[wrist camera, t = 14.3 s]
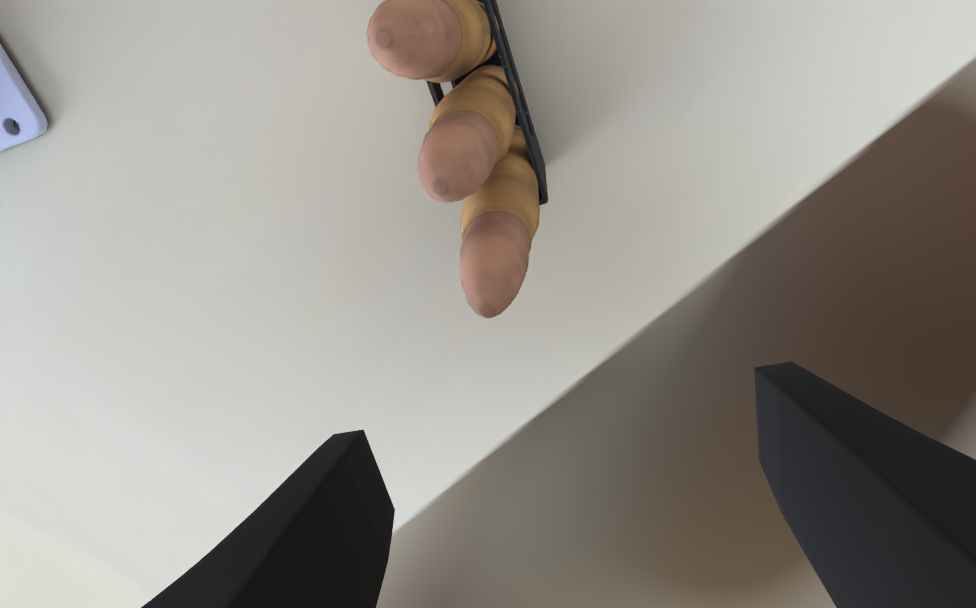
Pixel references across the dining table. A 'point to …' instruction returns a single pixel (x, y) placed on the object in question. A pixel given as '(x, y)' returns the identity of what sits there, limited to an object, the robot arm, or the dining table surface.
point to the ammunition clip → (471, 134)
